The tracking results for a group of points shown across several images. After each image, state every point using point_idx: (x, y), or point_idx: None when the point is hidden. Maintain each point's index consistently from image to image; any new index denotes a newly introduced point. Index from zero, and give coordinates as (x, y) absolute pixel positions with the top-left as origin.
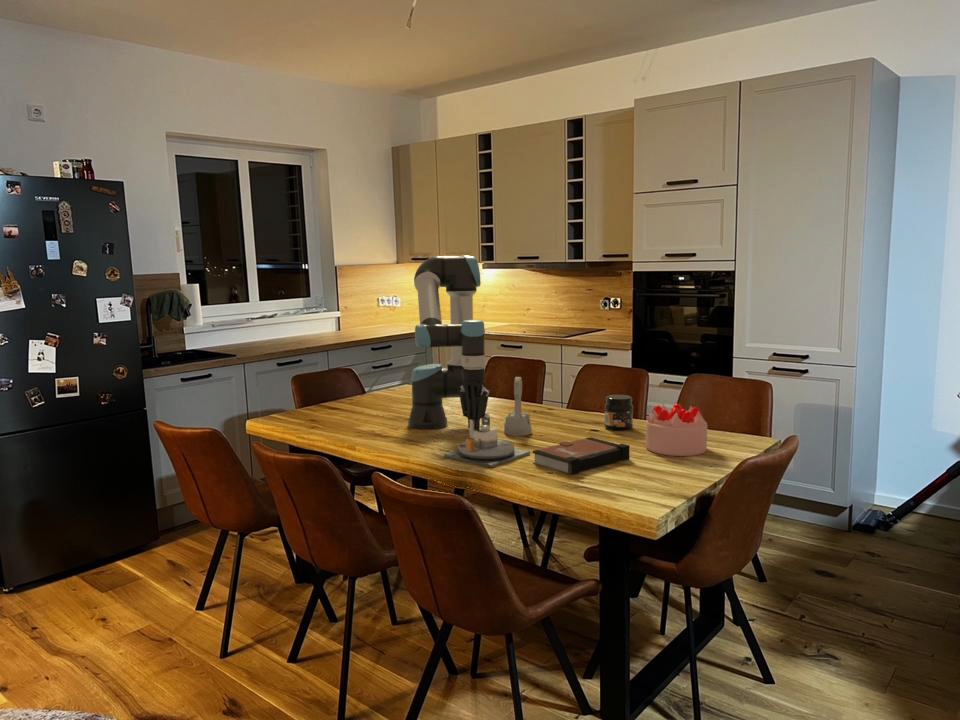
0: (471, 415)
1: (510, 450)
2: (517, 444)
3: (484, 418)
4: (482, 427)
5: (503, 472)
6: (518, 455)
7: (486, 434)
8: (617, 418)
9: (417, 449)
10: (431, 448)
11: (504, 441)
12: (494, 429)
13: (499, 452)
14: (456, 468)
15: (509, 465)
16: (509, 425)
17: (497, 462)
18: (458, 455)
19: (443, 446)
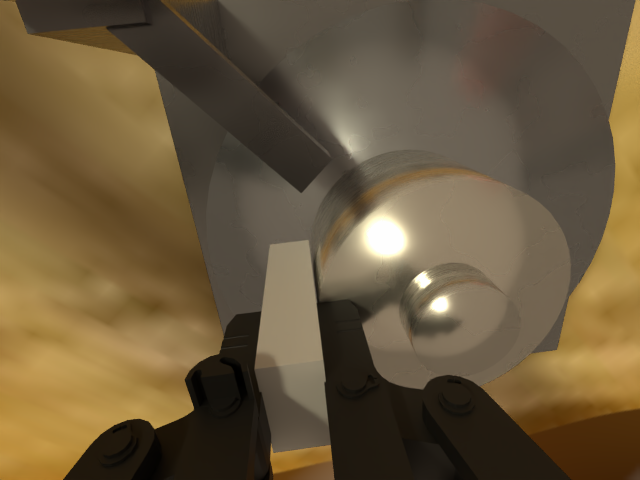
0: (254, 468)
1: (607, 188)
2: None
3: (107, 27)
4: (467, 372)
5: (628, 339)
6: (608, 118)
7: (516, 352)
8: None
9: (16, 392)
10: (36, 335)
11: (443, 30)
12: (500, 208)
13: (577, 284)
14: None
15: (606, 253)
16: None
17: (566, 306)
18: None
19: (26, 263)
